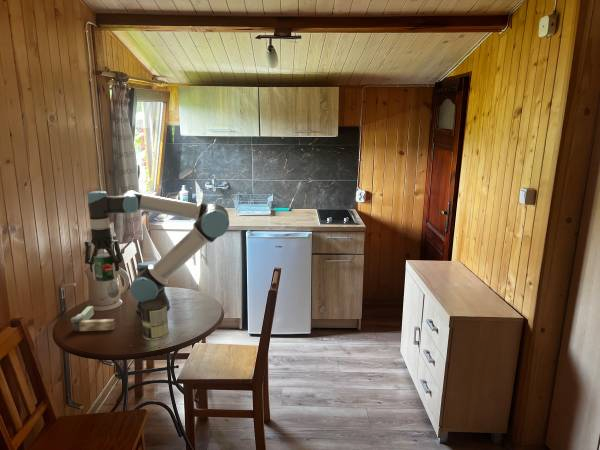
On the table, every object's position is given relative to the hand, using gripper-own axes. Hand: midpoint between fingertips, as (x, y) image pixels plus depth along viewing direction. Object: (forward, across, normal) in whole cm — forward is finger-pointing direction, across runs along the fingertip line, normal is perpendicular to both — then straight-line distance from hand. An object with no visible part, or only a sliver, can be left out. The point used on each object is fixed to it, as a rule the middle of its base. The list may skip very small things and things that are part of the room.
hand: (105, 278), depth 190 cm
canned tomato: (+1, 0, 0) cm, 1 cm away
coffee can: (+21, -23, +13) cm, 34 cm away
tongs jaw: (+21, +12, -1) cm, 24 cm away
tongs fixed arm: (+21, +5, +6) cm, 22 cm away
